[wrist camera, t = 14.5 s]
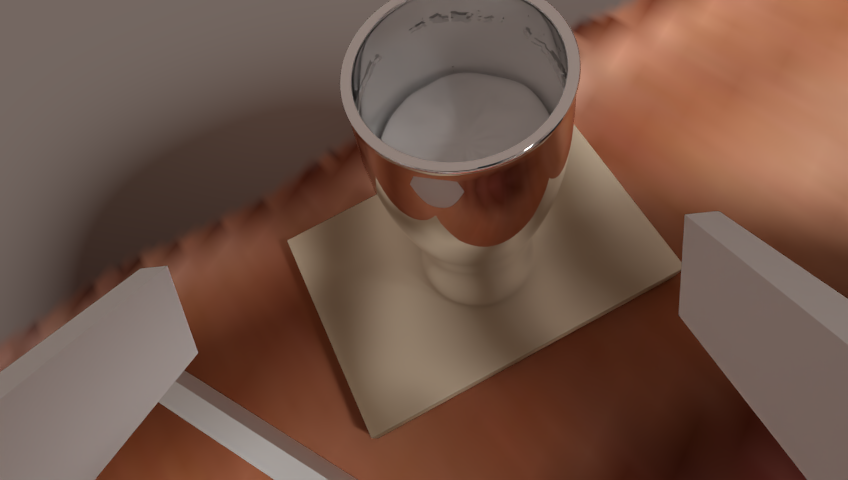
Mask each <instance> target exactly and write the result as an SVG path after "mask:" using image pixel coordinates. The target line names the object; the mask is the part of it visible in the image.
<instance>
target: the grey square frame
mask: <svg viewBox="0 0 848 480" xmlns="http://www.w3.org/2000/svg"><path fill="white" fill-rule="evenodd" d="M159 403H160V404H162V405H163V406H165V407H166V408H168V409H169V410H171V411H172V412H174V413H175V414H177V415H178V416H180V417H181V418H183V419H184V420H186V421H187V422H189V423H190V424H192V425H193V426H195V427H196V428H198V429H199V430H201V431H202V432H204V433H205V434H207V435H208V436H210V437H211V438H213V439H214V440H216V441H217V442H219V443H220V444H222V445H223V446H225V447H226V448H228V449H229V450H231V451H232V452H234V453H235V454H237V455H238V456H240V457H241V458H243V459H244V460H246V461H247V462H249V463H250V464H252V465H253V466H255V467H256V468H258V469H259V470H261V471H262V472H264V473H265V474H267V475H268V476H270V477H271V478H273V479H274V480H357V479H356V478H354V477H353V476H351V475H349V474H348V473H346V472H345V471H343V470H342V469H340V468H338V467H337V466H335V465H334V464H332V463H330V462H329V461H327V460H326V459H324V458H323V457H321V456H319V455H318V454H316V453H315V452H313V451H311V450H310V449H308V448H307V447H305V446H304V445H302V444H300V443H299V442H297V441H296V440H294V439H292V438H291V437H289V436H288V435H286V434H285V433H283V432H281V431H280V430H278V429H277V428H275V427H273V426H272V425H270V424H269V423H267V422H266V421H264V420H262V419H261V418H259V417H258V416H256V415H254V414H253V413H251V412H250V411H248V410H247V409H245V408H243V407H242V406H240V405H239V404H237V403H235V402H234V401H232V400H231V399H229V398H228V397H226V396H224V395H223V394H221V393H220V392H218V391H216V390H215V389H213V388H212V387H210V386H209V385H207V384H205V383H204V382H202V381H201V380H199V379H197V378H196V377H194V376H193V375H191V374H190V373H188V372H186V371H185V370H184V371H183V372H182V373H181V375H180V376H179V377H178V378H177V380H176V381H175V382H174V383H173V384H172V386H171V387H170V388H169V389H168V391H167V392H166V393H165V394H164V396H163V397H162V398H161V399H160V400H159Z"/></svg>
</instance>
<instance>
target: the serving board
mask: <svg viewBox="0 0 848 480" xmlns="http://www.w3.org/2000/svg"><path fill="white" fill-rule="evenodd" d="M532 238H533V242H534V261H533V266H532V269H531V272H530V274H529V276H528V278H527V279H526V281H525V282H524V284H523V285H522V286H521V287H520V288H519V289H518V290H517V291H516V292H515V293H514V294H512V295H511V296H510V297H508V298H506V299H505V300H503V301H500V302H498V303H495V304H491V305H487V306H468V305H463V304H460V303H457V302H454V301H452V300H450V299H448V298H446V297H445V296H443V295H442V294H441V293H439V292H438V291H437V290H436V289H435V288H434V287H433V285H432V284H431V283H430V281H429V280H428V278H427V276H426V274H425V271H424V268H423V265H422V260H421V249H420V248H419V247H418V246H417V245H416V244H415V243H414V242H412V241H411V240H410V239H409V238H408V237H407V236H406V235H405V234H404V233H403V231H402V230H401V229H400V228H399V227H398V226H397V225H396V223H395V222H394V221H393V220H392V219H391V217H390V216H389V214H388V213H387V211H386V209H385V208H384V206H383V204H382V202H381V201H380V199H379V197H378V196H377V194H376V195H374V196H372V197H370V198H368V199H367V200H365V201H363V202H361V203H359V204H357V205H355V206H353V207H351V208H349V209H347V210H345V211H343V212H341V213H339V214H337V215H336V216H334V217H332V218H330V219H328V220H326V221H324V222H322V223H320V224H318V225H316V226H314V227H312V228H310V229H308V230H306V231H305V232H303V233H301V234H299V235H297V236H295V237H293V238H291V239H289V240H287V242H288V244H289V246H290V249H291V251H292V253H293V256H294V258H295V260H296V263H297V265H298V267H299V270H300V272H301V274H302V277H303V279H304V281H305V284H306V286H307V288H308V291H309V293H310V295H311V298H312V300H313V302H314V305H315V307H316V310H317V312H318V314H319V317H320V319H321V321H322V324H323V326H324V328H325V331H326V333H327V335H328V338H329V340H330V342H331V345H332V347H333V349H334V352H335V354H336V356H337V359H338V361H339V363H340V366H341V368H342V370H343V373H344V375H345V377H346V380H347V382H348V384H349V387H350V389H351V392H352V394H353V396H354V399H355V401H356V403H357V406H358V408H359V410H360V413H361V415H362V417H363V420H364V422H365V424H366V427H367V429H368V431H369V434H370V436H371V438H380V437H381V436H383V435H385V434H387V433H389V432H391V431H392V430H394V429H396V428H398V427H400V426H402V425H403V424H405V423H407V422H409V421H411V420H412V419H414V418H416V417H418V416H420V415H422V414H423V413H425V412H427V411H429V410H431V409H433V408H434V407H436V406H438V405H440V404H442V403H444V402H445V401H447V400H449V399H451V398H453V397H455V396H456V395H458V394H460V393H462V392H464V391H466V390H467V389H469V388H471V387H473V386H475V385H476V384H478V383H480V382H482V381H484V380H486V379H487V378H489V377H491V376H493V375H495V374H497V373H498V372H500V371H502V370H504V369H506V368H508V367H509V366H511V365H513V364H515V363H517V362H519V361H520V360H522V359H524V358H526V357H528V356H530V355H531V354H533V353H535V352H537V351H539V350H541V349H542V348H544V347H546V346H548V345H550V344H551V343H553V342H555V341H557V340H559V339H561V338H562V337H564V336H566V335H568V334H570V333H572V332H573V331H575V330H577V329H579V328H581V327H583V326H584V325H586V324H588V323H590V322H592V321H594V320H595V319H597V318H599V317H601V316H603V315H605V314H606V313H608V312H610V311H612V310H614V309H615V308H617V307H619V306H621V305H623V304H625V303H626V302H628V301H630V300H632V299H634V298H636V297H637V296H639V295H641V294H643V293H645V292H647V291H648V290H650V289H652V288H654V287H656V286H658V285H659V284H661V283H663V282H665V281H667V280H669V279H670V278H672V277H674V276H676V275H677V274H678V273H679V272H680V271H681V267H682V262H681V261H680V260H679V258H678V257H677V256H676V255H675V253H674V252H673V251H672V250H671V248H670V247H669V246H668V244H667V243H666V242H665V241H664V239H663V238H662V237H661V235H660V234H659V233H658V232H657V230H656V229H655V228H654V226H653V225H652V224H651V223H650V221H649V220H648V219H647V217H646V216H645V215H644V214H643V212H642V211H641V210H640V208H639V207H638V206H637V205H636V203H635V202H634V201H633V199H632V198H631V197H630V196H629V194H628V193H627V192H626V190H625V189H624V188H623V187H622V185H621V184H620V183H619V181H618V180H617V179H616V178H615V176H614V175H613V174H612V172H611V171H610V170H609V169H608V167H607V166H606V165H605V163H604V162H603V161H602V160H601V158H600V157H599V156H598V155H597V153H596V152H595V151H594V149H593V148H592V147H591V146H590V144H589V143H588V142H587V140H586V139H585V138H584V137H583V135H582V134H581V133H580V131H579V130H578V129H577V128H576V126H575V125H574V127H573V135H572V143H571V148H570V153H569V158H568V163H567V168H566V171H565V174H564V177H563V180H562V183H561V186H560V190H559V192H558V195H557V197H556V200H555V202H554V204H553V205H552V207H551V209H550V211H549V213H548V214H547V216H546V218H545V220H544V221H543V223H542V224H541V226H540V227H539V228H538V230H537V231H536V233H535V234H534V235H533V237H532Z"/></svg>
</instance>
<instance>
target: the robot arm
mask: <svg viewBox="0 0 848 480" xmlns="http://www.w3.org/2000/svg"><path fill="white" fill-rule="evenodd" d="M679 316H680V318H681V319H682V320H683V322H684V323H685V324H686V325H687V327H688V328H689V329H690V330H691V332H692V333H693V334H694V336H695V337H696V338H697V339H698V341H699V342H700V343H701V345H702V346H703V347H704V348H705V350H706V351H707V352H708V354H709V355H710V356H711V357H712V359H713V360H714V361H715V362H716V364H717V365H718V366H719V368H720V369H721V370H722V371H723V373H724V374H725V375H726V377H727V378H728V379H729V380H730V382H731V383H732V384H733V386H734V387H735V388H736V389H737V391H738V392H739V393H740V394H741V396H742V397H743V398H744V400H745V401H746V402H747V403H748V405H749V406H750V407H751V409H752V410H753V411H754V412H755V414H756V415H757V416H758V418H759V419H760V420H761V421H762V423H763V424H764V425H765V426H766V428H767V429H768V430H769V432H770V433H771V434H772V435H773V437H774V438H775V439H776V441H777V442H778V443H779V444H780V446H781V447H782V448H783V450H784V451H785V452H786V453H787V455H788V456H789V457H790V458H791V460H792V461H793V462H794V464H795V465H796V466H797V467H798V469H799V470H800V471H801V473H802V474H803V475H804V476H805V478H806V479H807V480H848V299H847V298H846V297H844V296H843V295H841V294H840V293H838V292H837V291H835V290H834V289H833V288H831V287H830V286H828V285H827V284H825V283H824V282H822V281H821V280H819V279H818V278H816V277H815V276H813V275H812V274H810V273H809V272H808V271H806V270H805V269H803V268H802V267H800V266H799V265H797V264H796V263H794V262H793V261H791V260H790V259H788V258H787V257H786V256H784V255H783V254H781V253H780V252H778V251H777V250H775V249H774V248H772V247H771V246H769V245H768V244H766V243H765V242H764V241H762V240H761V239H759V238H758V237H756V236H755V235H753V234H752V233H750V232H749V231H747V230H746V229H744V228H743V227H742V226H740V225H739V224H737V223H736V222H734V221H733V220H731V219H730V218H728V217H727V216H725V215H724V214H722V213H721V212H720V211H714V212H704V213H694V214H685V219H684V235H683V251H682V267H681V283H680V299H679ZM197 354H198V351H197V348H196V345H195V342H194V340H193V337H192V334H191V331H190V328H189V325H188V323H187V320H186V317H185V314H184V311H183V308H182V306H181V303H180V300H179V297H178V294H177V292H176V289H175V286H174V283H173V280H172V277H171V275H170V272H169V269H168V266H161V267H150V268H141V269H139V270H138V271H137V272H135V273H134V274H132V275H131V276H130V277H128V278H127V279H126V280H124V281H123V282H122V283H120V284H119V285H118V286H116V287H115V288H113V289H112V290H111V291H109V292H108V293H107V294H105V295H104V296H103V297H101V298H100V299H99V300H97V301H96V302H94V303H93V304H92V305H90V306H89V307H88V308H86V309H85V310H84V311H82V312H81V313H80V314H78V315H77V316H76V317H74V318H73V319H71V320H70V321H69V322H67V323H66V324H65V325H63V326H62V327H61V328H59V329H58V330H57V331H55V332H54V333H52V334H51V335H50V336H48V337H47V338H46V339H44V340H43V341H42V342H40V343H39V344H38V345H36V346H35V347H33V348H32V349H31V350H29V351H28V352H27V353H25V354H24V355H23V356H21V357H20V358H19V359H17V360H16V361H15V362H13V363H12V364H10V365H9V366H8V367H6V368H5V369H4V370H2V371H1V372H0V480H95V479H96V478H97V476H98V475H99V474H100V473H101V471H102V470H103V469H104V468H105V467H106V465H107V464H108V463H109V462H110V460H111V459H112V458H113V457H114V456H115V454H116V453H117V452H118V451H119V449H120V448H121V447H122V446H123V445H124V443H125V442H126V441H127V440H128V438H129V437H130V436H131V435H132V434H133V432H134V431H135V430H136V429H137V427H138V426H139V425H140V424H141V422H142V421H143V420H144V419H145V418H146V416H147V415H148V414H149V413H150V411H151V410H152V409H153V408H154V407H155V405H156V404H157V403H158V402H159V400H160V399H161V398H162V397H163V396H164V394H165V393H166V392H167V391H168V389H169V388H170V387H171V386H172V384H173V383H174V382H175V381H176V380H177V378H178V377H179V376H180V375H181V373H182V372H183V371H184V370H185V369H186V367H187V366H188V365H189V364H190V362H191V361H192V360H193V359H194V358H195V356H196V355H197Z"/></svg>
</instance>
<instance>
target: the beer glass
mask: <svg viewBox="0 0 848 480" xmlns="http://www.w3.org/2000/svg"><path fill="white" fill-rule="evenodd" d="M580 73H581V61H580V53H579V48H578V45H577V41H576V39H575V36H574V34H573V32H572V30H571V28H570V26H569V25H568V23H567V21H566V20H565V19H564V17H563V16H562V15H561V14H560V13H559V12H558V11H557V9H555V8H554V7H553V6H552V5H551V4H550V3H549V2H548V1H546V0H390V1H388V2H387V3H385V4H384V5H383V6H381V7H380V8H379V9H378V10H377V11H375V13H373V14H372V15H371V16H370V17H369V18H368V19H367V20H366V21H365V22H364V24H363V25H362V26H361V27H360V29H359V30H358V31H357V33H356V34H355V36H354V37H353V39H352V41H351V43H350V44H349V47H348V49H347V51H346V54H345V56H344V60H343V63H342V68H341V73H340V93H341V100H342V104H343V108H344V111H345V113H346V116H347V118H348V120H349V122H350V124H351V127H352V130H353V133H354V136H355V140H356V143H357V146H358V149H359V152H360V155H361V158H362V161H363V164H364V167H365V169H366V171H367V174H368V176H369V178H370V181H371V183H372V185H373V188H374V190H375V192H376V194H377V196H378V197H379V199H380V201H381V202H382V204H383V206H384V208H385V209H386V211H387V213H388V214H389V216H390V217H391V219H392V220H393V221H394V222H395V223H396V225H397V226H398V227H399V228H400V229H401V230H402V231H403V233H404V234H405V235H406V236H407V237H408V238H409V239H410V240H411V241H412V242H414V243H415V244H416V245H417V246H418V247H419V248H420V249H421V260H422V265H423V268H424V271H425V274H426V276H427V278H428V280H429V281H430V283H431V284H432V285H433V287H434V288H435V289H436V290H437V291H438V292H439V293H441V294H442V295H443V296H445V297H446V298H448V299H450V300H452V301H454V302H457V303H460V304H463V305H468V306H487V305H491V304H495V303H498V302H500V301H503V300H505V299H506V298H508V297H510V296H511V295H512V294H514V293H515V292H516V291H517V290H518V289H519V288H520V287H521V286H522V285H523V284H524V282H525V281H526V279H527V278H528V276H529V274H530V272H531V269H532V266H533V261H534V242H533V238H532V237H533V235H534V234H535V233H536V231H537V230H538V228H539V227H540V226H541V224H542V223H543V221H544V220H545V218H546V216H547V214H548V213H549V211H550V209H551V207H552V205H553V204H554V202H555V200H556V197H557V195H558V192H559V190H560V186H561V183H562V180H563V177H564V174H565V171H566V168H567V163H568V158H569V153H570V148H571V143H572V135H573V127H574V118H575V107H576V94H577V90H578V86H579V81H580Z"/></svg>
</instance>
